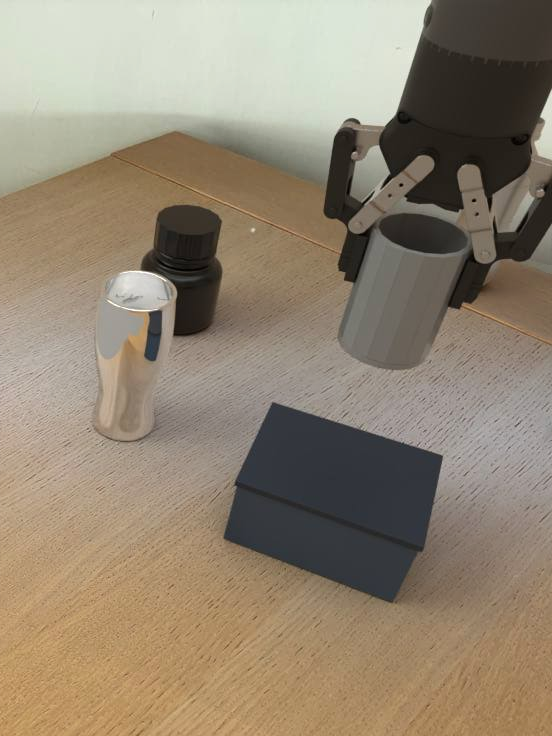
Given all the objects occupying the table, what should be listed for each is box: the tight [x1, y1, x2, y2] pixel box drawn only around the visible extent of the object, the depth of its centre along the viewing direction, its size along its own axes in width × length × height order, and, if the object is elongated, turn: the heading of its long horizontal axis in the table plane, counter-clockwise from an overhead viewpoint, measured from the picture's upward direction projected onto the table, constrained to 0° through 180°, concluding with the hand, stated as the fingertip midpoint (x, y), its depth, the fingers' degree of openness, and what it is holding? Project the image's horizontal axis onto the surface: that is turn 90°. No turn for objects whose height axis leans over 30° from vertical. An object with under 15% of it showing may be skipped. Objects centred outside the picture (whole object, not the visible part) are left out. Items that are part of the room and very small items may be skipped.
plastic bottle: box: [455, 116, 546, 287], centre depth 94 cm, size 6×7×20 cm
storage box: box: [223, 401, 444, 604], centre depth 68 cm, size 14×11×7 cm
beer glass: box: [91, 269, 177, 442], centre depth 76 cm, size 7×7×15 cm
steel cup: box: [337, 210, 473, 371], centre depth 57 cm, size 6×6×9 cm
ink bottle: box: [139, 204, 224, 335], centre depth 91 cm, size 10×9×12 cm
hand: (401, 288), depth 57 cm, fingers closed on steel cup, 6 cm apart
